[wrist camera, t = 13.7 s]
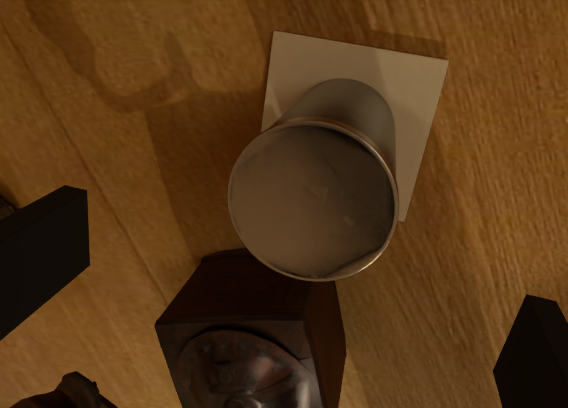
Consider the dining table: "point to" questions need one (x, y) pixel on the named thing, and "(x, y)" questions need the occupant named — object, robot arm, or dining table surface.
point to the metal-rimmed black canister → (319, 184)
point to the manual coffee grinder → (239, 342)
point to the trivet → (372, 71)
